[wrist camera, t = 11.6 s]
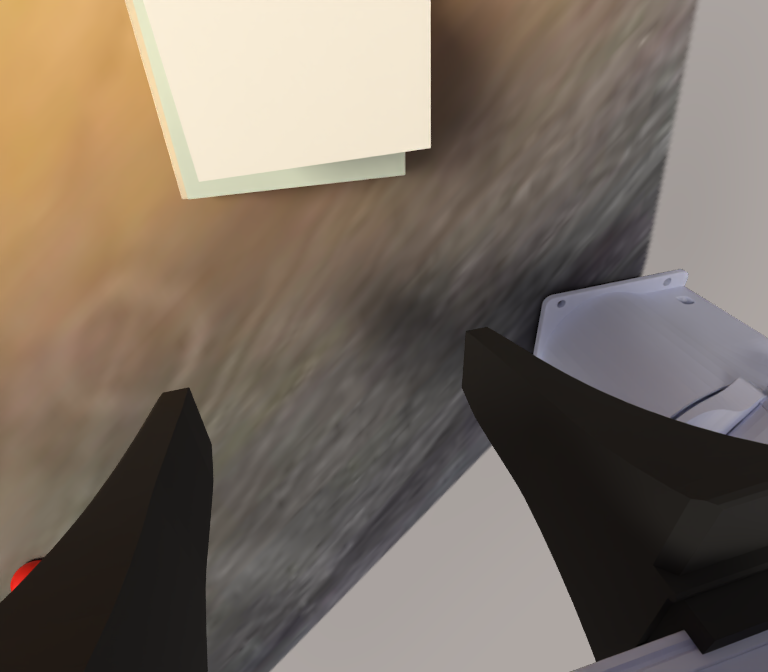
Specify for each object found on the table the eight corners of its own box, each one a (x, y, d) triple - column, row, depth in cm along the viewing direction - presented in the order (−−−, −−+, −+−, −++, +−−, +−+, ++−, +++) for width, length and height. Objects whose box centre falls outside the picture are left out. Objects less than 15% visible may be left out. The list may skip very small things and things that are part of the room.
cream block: (347, -113, 11) (430, -183, 7) (363, 94, 14) (430, 148, 9) (150, -104, 10) (89, -175, 6) (209, 113, 13) (199, 181, 9)
